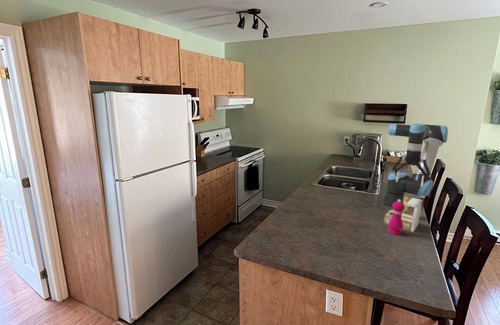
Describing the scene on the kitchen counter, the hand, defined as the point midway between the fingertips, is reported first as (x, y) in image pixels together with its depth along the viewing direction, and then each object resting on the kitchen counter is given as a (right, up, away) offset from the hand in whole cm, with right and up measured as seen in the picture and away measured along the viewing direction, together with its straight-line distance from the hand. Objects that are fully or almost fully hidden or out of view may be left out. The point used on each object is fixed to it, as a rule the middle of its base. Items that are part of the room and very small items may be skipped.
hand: (409, 183), depth 166 cm
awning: (-2, -25, -5) cm, 26 cm away
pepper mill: (-16, -27, -12) cm, 34 cm away
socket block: (-7, -24, -1) cm, 25 cm away
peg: (+1, -22, +8) cm, 24 cm away
